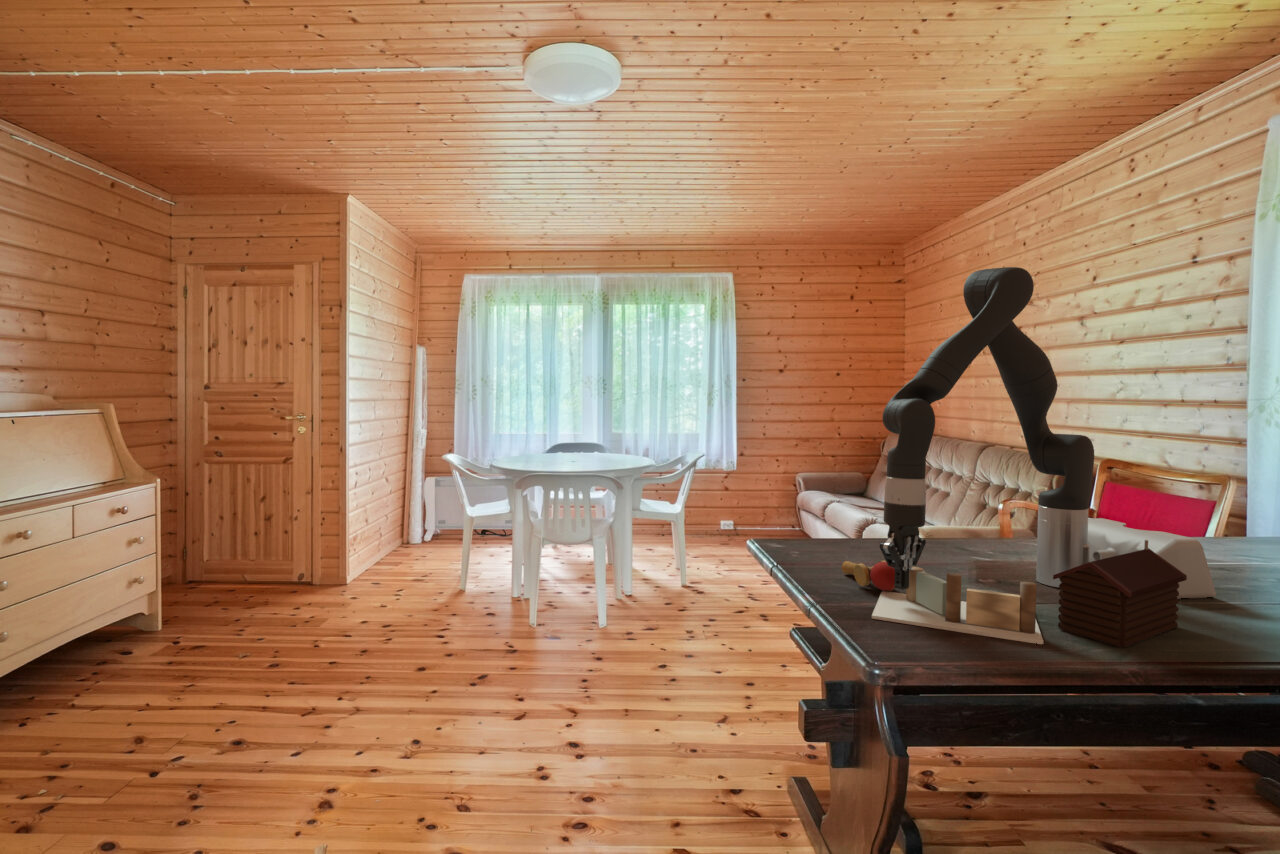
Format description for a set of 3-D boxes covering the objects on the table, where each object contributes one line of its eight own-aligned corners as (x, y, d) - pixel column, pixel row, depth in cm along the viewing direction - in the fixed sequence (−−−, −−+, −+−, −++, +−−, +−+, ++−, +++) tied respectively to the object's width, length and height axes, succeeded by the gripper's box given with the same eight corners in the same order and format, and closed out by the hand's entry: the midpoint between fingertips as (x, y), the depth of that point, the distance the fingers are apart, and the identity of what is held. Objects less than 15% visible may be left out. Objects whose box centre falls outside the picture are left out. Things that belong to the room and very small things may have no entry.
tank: (1052, 569, 151) (1054, 518, 150) (1112, 567, 153) (1114, 516, 152) (1147, 602, 126) (1149, 541, 126) (1217, 599, 128) (1220, 539, 127)
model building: (1110, 610, 121) (1113, 534, 121) (1184, 629, 111) (1187, 546, 111) (1051, 629, 111) (1053, 545, 111) (1126, 651, 101) (1129, 560, 101)
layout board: (1032, 613, 119) (1032, 610, 119) (1043, 644, 104) (1043, 640, 104) (882, 593, 131) (882, 590, 131) (871, 618, 116) (871, 615, 116)
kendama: (829, 580, 145) (875, 589, 127) (832, 552, 146) (878, 558, 128) (859, 585, 146) (908, 595, 129) (862, 558, 147) (911, 564, 130)
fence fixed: (1034, 633, 109) (1035, 582, 108) (1035, 638, 107) (1037, 586, 106) (945, 620, 115) (946, 572, 115) (945, 624, 113) (946, 575, 113)
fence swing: (953, 614, 116) (953, 582, 116) (937, 615, 115) (938, 582, 115) (916, 596, 127) (917, 566, 126) (902, 596, 126) (903, 567, 126)
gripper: (903, 505, 115) (900, 598, 116) (941, 501, 123) (937, 588, 123) (867, 500, 121) (864, 588, 122) (905, 496, 129) (902, 579, 129)
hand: (901, 588), depth 123 cm, fingers closed
